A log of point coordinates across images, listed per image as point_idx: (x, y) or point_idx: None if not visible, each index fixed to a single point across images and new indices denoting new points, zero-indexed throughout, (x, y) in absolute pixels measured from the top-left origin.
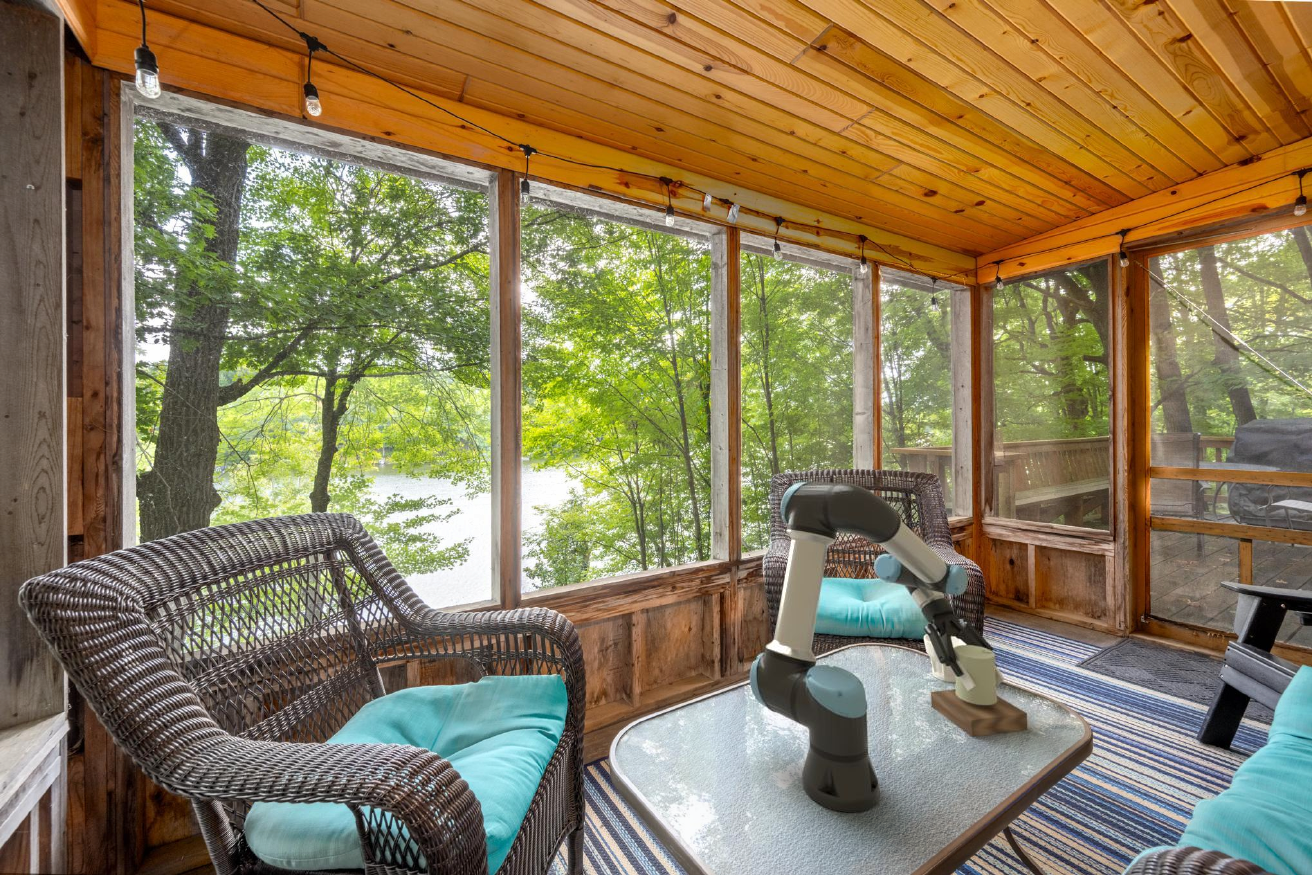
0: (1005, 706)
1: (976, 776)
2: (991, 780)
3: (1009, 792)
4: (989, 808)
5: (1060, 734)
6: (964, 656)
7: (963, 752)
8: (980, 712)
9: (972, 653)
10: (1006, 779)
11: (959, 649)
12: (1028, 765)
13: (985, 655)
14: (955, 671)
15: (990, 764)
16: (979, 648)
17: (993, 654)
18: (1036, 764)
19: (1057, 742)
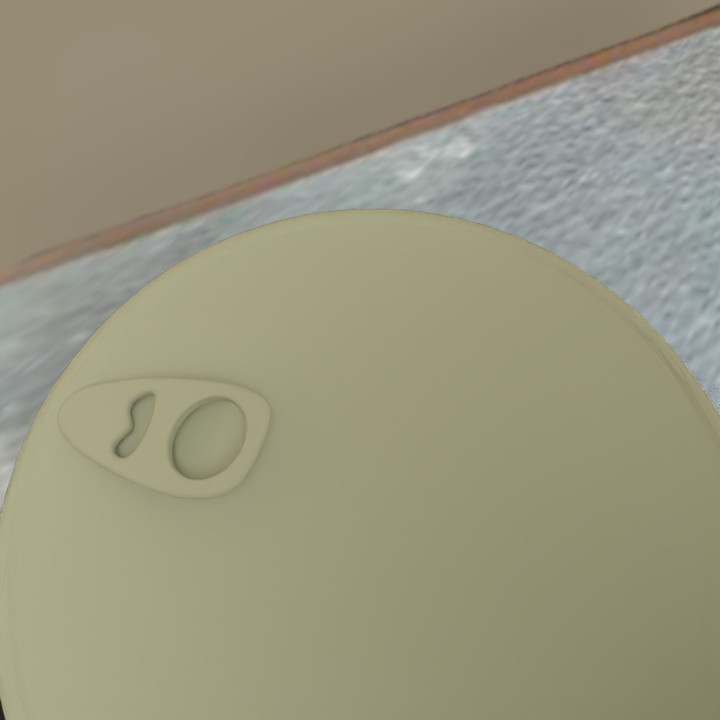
0: None
1: (669, 158)
2: (623, 132)
3: (595, 76)
4: (707, 34)
5: (16, 352)
6: (679, 370)
7: (642, 300)
8: None
9: (467, 452)
10: (561, 127)
11: (629, 709)
12: (408, 178)
13: (299, 322)
14: None
15: (567, 208)
16: (131, 679)
17: (132, 323)
18: (369, 177)
19: (112, 293)
